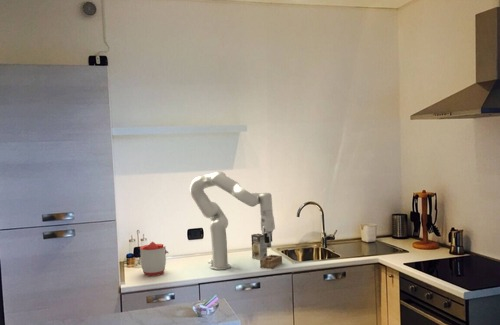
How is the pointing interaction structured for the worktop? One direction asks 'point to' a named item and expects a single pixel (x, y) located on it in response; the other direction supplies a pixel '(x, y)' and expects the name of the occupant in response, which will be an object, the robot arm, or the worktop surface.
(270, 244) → the pin
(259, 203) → the robot arm
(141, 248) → the citrus juicer
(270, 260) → the hole block
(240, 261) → the worktop surface
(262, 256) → the coffee box
